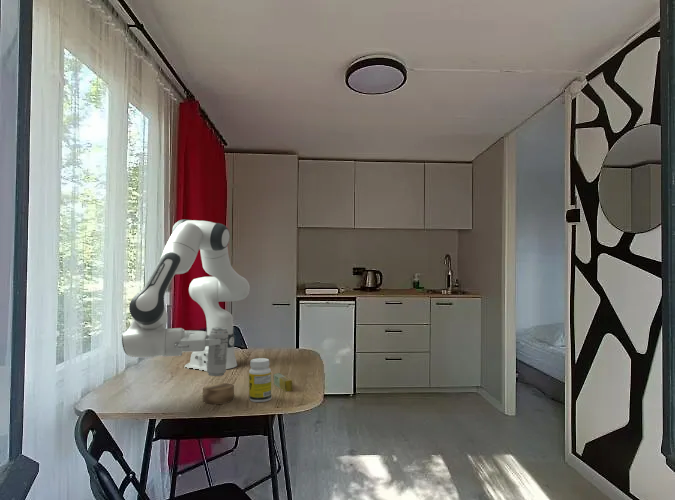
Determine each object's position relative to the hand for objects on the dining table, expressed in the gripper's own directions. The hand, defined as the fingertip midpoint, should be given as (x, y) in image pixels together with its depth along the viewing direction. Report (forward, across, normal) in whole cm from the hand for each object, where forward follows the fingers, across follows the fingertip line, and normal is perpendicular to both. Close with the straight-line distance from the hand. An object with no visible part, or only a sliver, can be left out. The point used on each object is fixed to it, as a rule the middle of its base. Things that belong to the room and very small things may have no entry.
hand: (220, 339), depth 156 cm
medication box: (+22, +8, +20) cm, 30 cm away
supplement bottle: (+13, -4, +20) cm, 24 cm away
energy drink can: (-2, 0, +11) cm, 12 cm away
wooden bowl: (-1, 0, +19) cm, 19 cm away
